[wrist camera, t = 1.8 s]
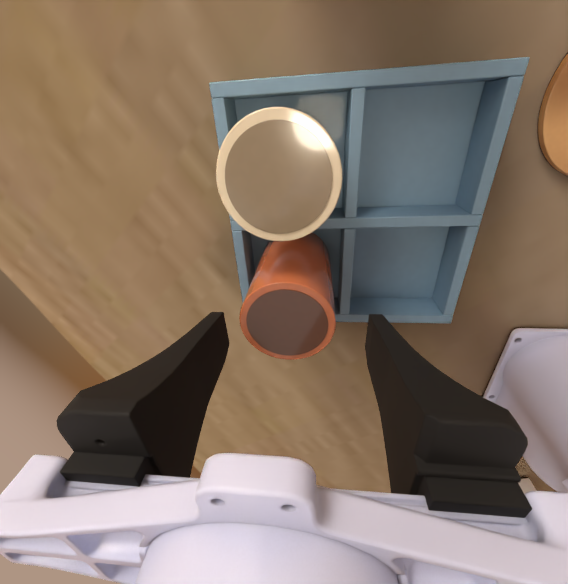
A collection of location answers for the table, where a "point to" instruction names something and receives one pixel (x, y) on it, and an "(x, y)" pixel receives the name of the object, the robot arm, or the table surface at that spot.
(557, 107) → the coaster
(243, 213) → the cream tumbler
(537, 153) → the table surface
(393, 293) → the rack
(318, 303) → the tumbler
